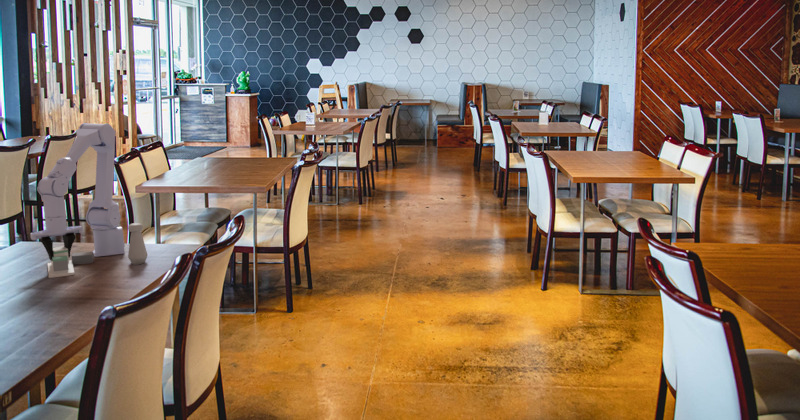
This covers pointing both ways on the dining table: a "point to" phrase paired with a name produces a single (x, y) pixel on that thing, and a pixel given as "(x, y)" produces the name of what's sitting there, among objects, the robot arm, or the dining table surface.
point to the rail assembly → (60, 267)
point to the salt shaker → (136, 244)
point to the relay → (82, 258)
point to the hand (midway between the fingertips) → (59, 258)
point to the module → (60, 252)
